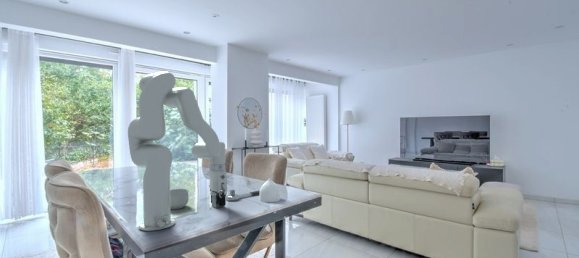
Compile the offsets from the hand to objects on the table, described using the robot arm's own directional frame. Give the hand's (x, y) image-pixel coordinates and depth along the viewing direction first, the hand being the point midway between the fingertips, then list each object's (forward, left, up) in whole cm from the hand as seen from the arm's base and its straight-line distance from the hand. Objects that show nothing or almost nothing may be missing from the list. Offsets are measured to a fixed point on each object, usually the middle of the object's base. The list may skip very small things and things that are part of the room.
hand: (218, 204), depth 134 cm
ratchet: (+7, -20, -1) cm, 21 cm away
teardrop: (-7, -26, -1) cm, 27 cm away
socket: (0, 0, -1) cm, 1 cm away
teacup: (+14, +16, -1) cm, 21 cm away
